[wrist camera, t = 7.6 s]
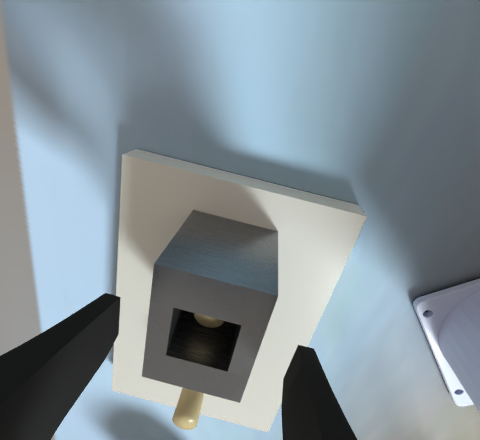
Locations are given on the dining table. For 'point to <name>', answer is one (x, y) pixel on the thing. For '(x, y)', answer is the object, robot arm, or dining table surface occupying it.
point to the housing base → (274, 341)
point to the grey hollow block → (211, 305)
